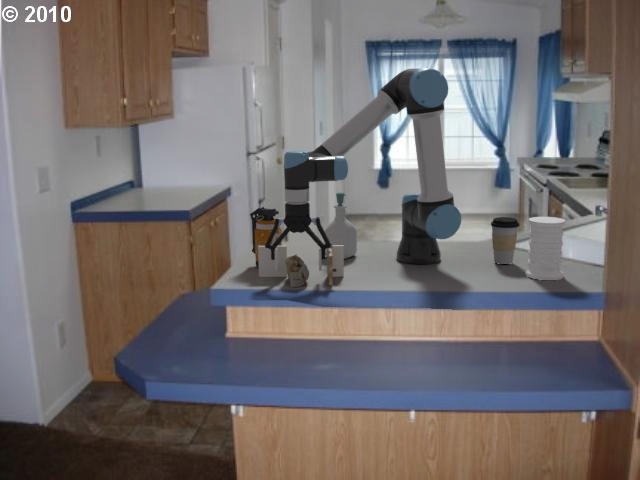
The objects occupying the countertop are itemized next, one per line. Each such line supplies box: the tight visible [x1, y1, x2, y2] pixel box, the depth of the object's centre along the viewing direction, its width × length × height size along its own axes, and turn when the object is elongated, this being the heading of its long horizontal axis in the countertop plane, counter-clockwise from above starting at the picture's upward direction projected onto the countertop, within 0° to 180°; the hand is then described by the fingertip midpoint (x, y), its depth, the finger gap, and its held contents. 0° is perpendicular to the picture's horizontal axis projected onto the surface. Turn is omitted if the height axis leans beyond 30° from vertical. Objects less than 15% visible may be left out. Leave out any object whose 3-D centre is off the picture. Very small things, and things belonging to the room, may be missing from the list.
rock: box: [286, 254, 310, 288], centre depth 228 cm, size 12×7×10 cm, turn 4°
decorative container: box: [524, 216, 566, 281], centre depth 229 cm, size 12×12×18 cm
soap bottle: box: [323, 192, 358, 260], centre depth 258 cm, size 10×10×23 cm
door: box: [328, 248, 336, 286], centre depth 226 cm, size 11×2×9 cm, turn 0°
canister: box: [249, 206, 283, 268], centre depth 247 cm, size 9×11×20 cm
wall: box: [258, 242, 345, 278], centre depth 233 cm, size 27×2×11 cm, turn 88°
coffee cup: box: [490, 216, 521, 265], centre depth 247 cm, size 9×9×15 cm
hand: (298, 270), depth 228 cm, fingers open, 13 cm apart
